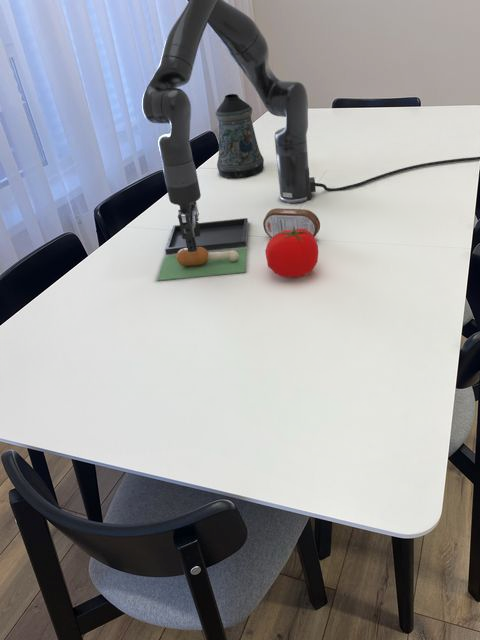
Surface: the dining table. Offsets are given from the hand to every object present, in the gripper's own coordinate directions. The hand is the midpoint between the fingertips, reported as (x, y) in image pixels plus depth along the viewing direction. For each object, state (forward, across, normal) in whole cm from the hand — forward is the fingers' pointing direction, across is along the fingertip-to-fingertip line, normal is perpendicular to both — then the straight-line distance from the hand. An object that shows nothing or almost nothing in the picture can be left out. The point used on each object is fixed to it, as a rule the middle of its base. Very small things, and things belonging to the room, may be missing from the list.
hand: (194, 243), depth 144 cm
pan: (+6, +15, -1) cm, 17 cm away
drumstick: (+6, 0, -3) cm, 6 cm away
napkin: (+6, 0, -1) cm, 6 cm away
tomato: (+6, -9, -24) cm, 26 cm away
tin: (+6, +9, -24) cm, 27 cm away
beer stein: (+7, +71, -7) cm, 72 cm away
